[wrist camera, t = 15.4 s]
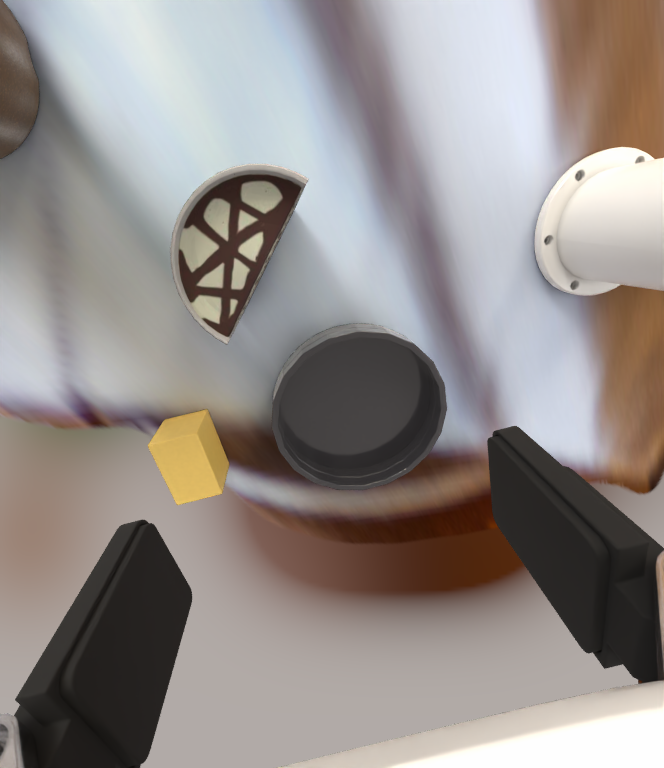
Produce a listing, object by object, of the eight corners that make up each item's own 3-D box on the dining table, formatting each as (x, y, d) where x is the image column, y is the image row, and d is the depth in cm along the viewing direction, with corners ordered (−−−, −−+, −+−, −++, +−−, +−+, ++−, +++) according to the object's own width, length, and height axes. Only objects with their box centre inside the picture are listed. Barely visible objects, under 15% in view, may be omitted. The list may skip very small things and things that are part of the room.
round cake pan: (423, 304, 36) (437, 311, 32) (440, 449, 42) (453, 467, 39) (252, 346, 35) (248, 358, 32) (296, 486, 42) (297, 507, 39)
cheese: (207, 408, 37) (196, 433, 32) (229, 464, 40) (222, 494, 35) (164, 419, 37) (146, 445, 32) (189, 474, 40) (176, 505, 35)
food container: (234, 147, 29) (211, 107, 20) (303, 192, 31) (310, 174, 22) (175, 286, 32) (132, 307, 23) (240, 319, 34) (224, 350, 25)
